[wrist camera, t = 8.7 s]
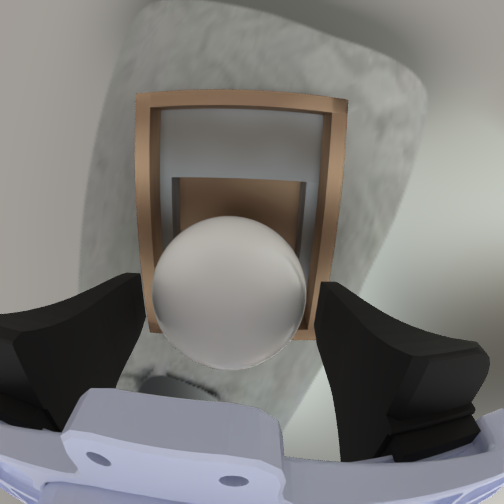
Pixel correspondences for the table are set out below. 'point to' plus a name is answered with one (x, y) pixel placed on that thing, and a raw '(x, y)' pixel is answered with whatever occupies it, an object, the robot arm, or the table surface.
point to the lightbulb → (229, 293)
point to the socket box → (241, 173)
